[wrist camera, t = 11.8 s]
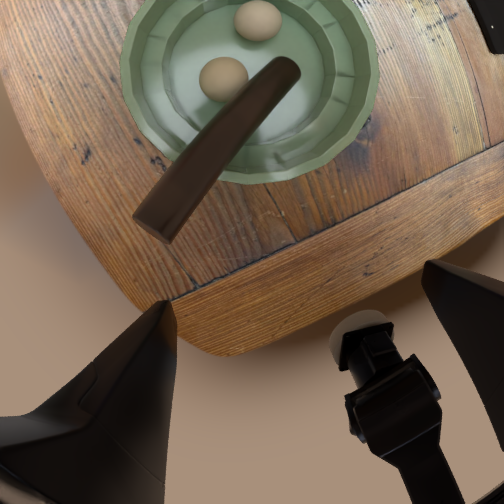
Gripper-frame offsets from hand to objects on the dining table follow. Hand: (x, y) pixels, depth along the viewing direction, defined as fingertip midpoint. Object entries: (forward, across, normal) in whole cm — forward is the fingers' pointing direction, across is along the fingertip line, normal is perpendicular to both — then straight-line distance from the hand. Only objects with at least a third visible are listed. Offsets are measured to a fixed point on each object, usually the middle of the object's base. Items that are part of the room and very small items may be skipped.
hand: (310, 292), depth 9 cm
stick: (+11, -2, -9) cm, 14 cm away
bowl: (+13, 0, -9) cm, 16 cm away
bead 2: (+11, -1, -12) cm, 16 cm away
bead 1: (+11, +2, -8) cm, 14 cm away
